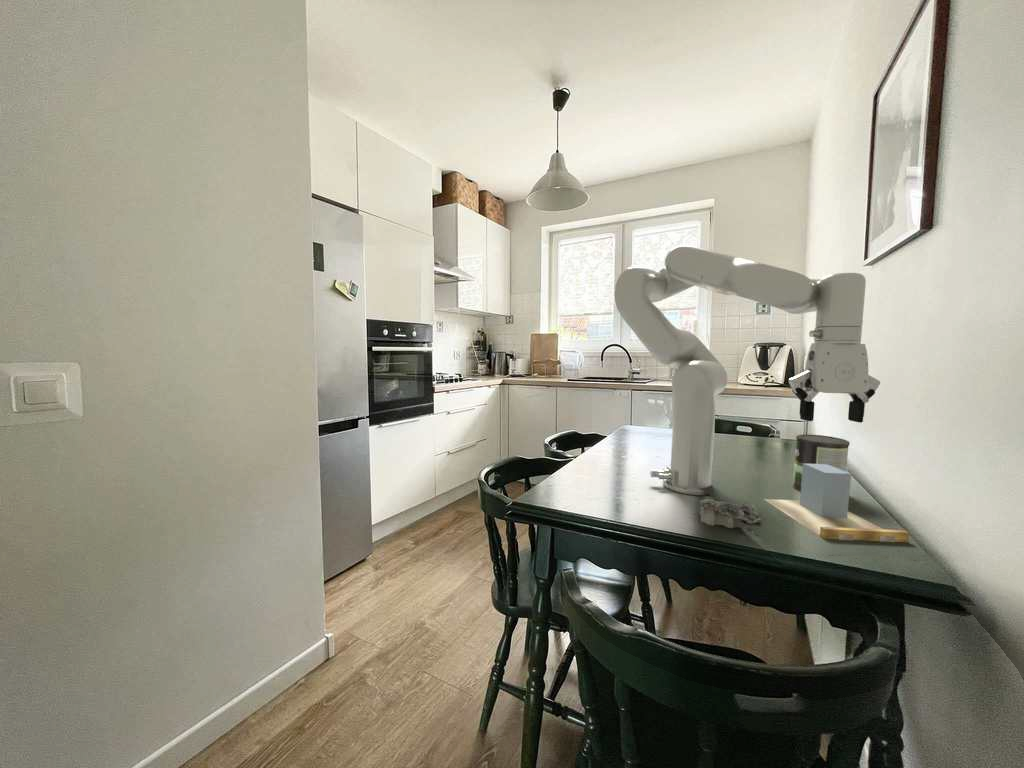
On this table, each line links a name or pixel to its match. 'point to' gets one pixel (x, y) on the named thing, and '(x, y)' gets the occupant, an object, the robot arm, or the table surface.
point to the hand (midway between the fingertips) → (830, 420)
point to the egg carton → (727, 513)
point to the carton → (825, 490)
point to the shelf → (838, 524)
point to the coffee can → (818, 454)
